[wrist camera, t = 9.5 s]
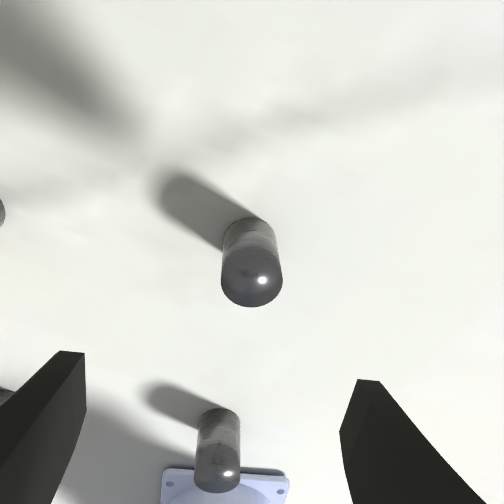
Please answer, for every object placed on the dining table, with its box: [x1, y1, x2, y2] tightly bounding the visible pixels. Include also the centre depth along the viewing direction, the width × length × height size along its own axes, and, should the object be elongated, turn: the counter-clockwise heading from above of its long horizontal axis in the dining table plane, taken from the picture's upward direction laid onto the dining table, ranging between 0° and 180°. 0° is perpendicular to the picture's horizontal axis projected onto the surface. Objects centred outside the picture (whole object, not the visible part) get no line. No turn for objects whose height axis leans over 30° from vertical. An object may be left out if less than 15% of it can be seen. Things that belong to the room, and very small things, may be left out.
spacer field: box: [0, 200, 283, 493], centre depth 21 cm, size 14×14×4 cm
